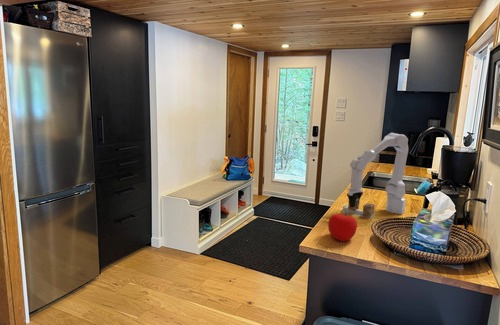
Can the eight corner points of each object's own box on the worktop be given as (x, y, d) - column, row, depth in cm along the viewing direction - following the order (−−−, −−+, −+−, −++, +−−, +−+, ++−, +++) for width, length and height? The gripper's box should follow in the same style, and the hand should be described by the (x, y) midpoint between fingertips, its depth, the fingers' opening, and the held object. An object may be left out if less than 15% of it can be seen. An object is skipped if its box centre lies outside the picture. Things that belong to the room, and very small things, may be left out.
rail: (374, 216, 178) (375, 210, 178) (370, 220, 173) (371, 213, 172) (346, 209, 188) (346, 204, 187) (341, 212, 182) (341, 206, 182)
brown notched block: (359, 209, 182) (360, 198, 181) (355, 211, 178) (356, 200, 177) (351, 207, 185) (352, 196, 184) (347, 209, 181) (348, 198, 180)
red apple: (325, 241, 144) (327, 216, 142) (329, 230, 157) (331, 207, 155) (354, 246, 140) (357, 220, 138) (356, 234, 153) (358, 211, 151)
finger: (362, 215, 176) (363, 205, 175) (365, 213, 180) (366, 202, 179) (370, 217, 174) (371, 206, 173) (373, 215, 178) (374, 204, 177)
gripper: (354, 177, 187) (351, 201, 189) (343, 182, 175) (341, 207, 178) (366, 180, 182) (364, 203, 185) (357, 184, 171) (354, 210, 174)
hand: (354, 205), depth 181 cm, fingers closed on brown notched block, 5 cm apart
